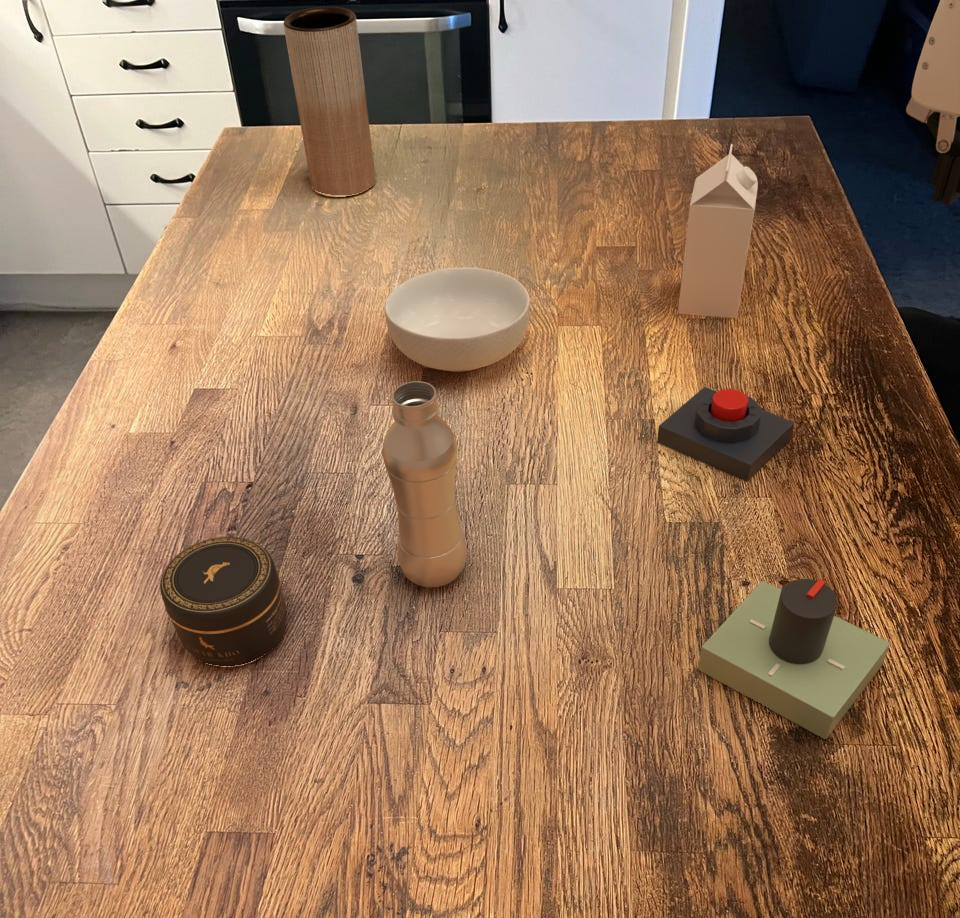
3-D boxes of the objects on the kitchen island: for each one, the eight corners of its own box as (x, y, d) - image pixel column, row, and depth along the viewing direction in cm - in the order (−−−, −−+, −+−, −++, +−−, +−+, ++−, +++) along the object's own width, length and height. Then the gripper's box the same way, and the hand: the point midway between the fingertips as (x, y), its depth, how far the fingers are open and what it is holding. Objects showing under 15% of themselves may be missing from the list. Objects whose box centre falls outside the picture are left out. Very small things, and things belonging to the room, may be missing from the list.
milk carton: (675, 326, 122) (693, 168, 108) (682, 297, 126) (699, 142, 112) (735, 331, 120) (760, 172, 106) (739, 302, 125) (764, 145, 111)
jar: (165, 670, 88) (139, 610, 82) (201, 590, 95) (180, 530, 89) (274, 678, 87) (255, 618, 81) (303, 597, 93) (287, 536, 88)
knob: (807, 672, 81) (822, 623, 76) (758, 647, 83) (770, 599, 78) (832, 640, 83) (848, 591, 78) (785, 617, 85) (798, 568, 80)
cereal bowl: (551, 332, 122) (552, 278, 117) (496, 406, 112) (494, 350, 107) (429, 307, 128) (424, 255, 122) (365, 376, 118) (357, 322, 112)
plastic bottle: (481, 561, 96) (470, 382, 81) (444, 606, 92) (425, 427, 77) (425, 540, 98) (404, 362, 83) (386, 583, 94) (357, 405, 79)
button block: (790, 439, 106) (798, 407, 103) (747, 482, 102) (753, 450, 99) (702, 403, 111) (706, 372, 108) (656, 442, 107) (660, 411, 104)
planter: (309, 175, 156) (281, 10, 139) (372, 167, 157) (352, 2, 140) (313, 202, 150) (284, 33, 133) (379, 194, 150) (359, 24, 134)
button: (752, 410, 104) (755, 396, 102) (734, 427, 102) (736, 413, 101) (722, 398, 105) (724, 384, 104) (704, 415, 104) (706, 400, 102)
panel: (881, 666, 85) (891, 641, 82) (825, 740, 80) (834, 716, 77) (756, 603, 90) (762, 578, 88) (696, 669, 85) (701, 645, 83)
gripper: (1145, -48, 72) (1049, 203, 86) (945, -74, 79) (885, 162, 93) (1110, -21, 69) (1016, 237, 82) (903, -51, 75) (848, 192, 89)
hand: (947, 197), depth 87 cm, fingers closed
